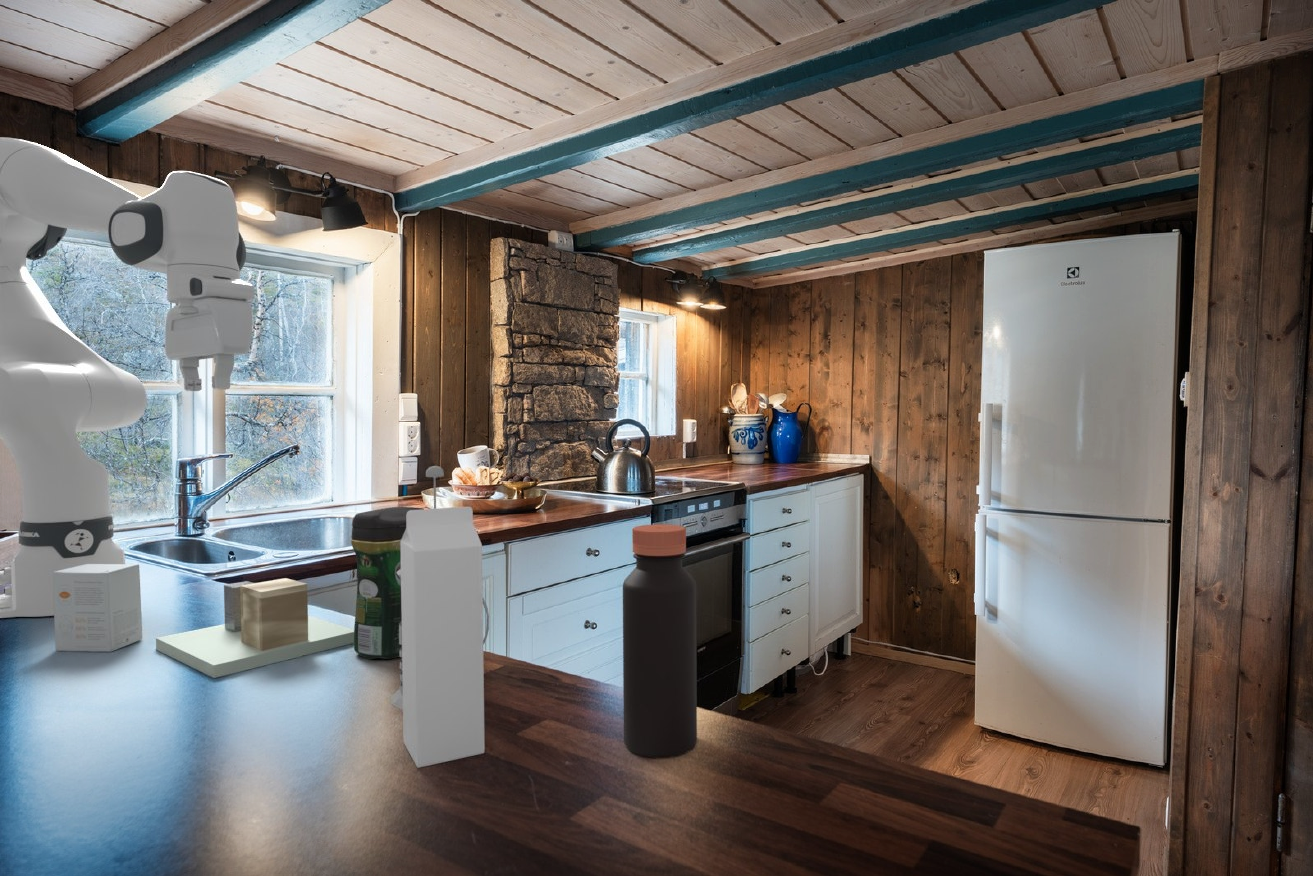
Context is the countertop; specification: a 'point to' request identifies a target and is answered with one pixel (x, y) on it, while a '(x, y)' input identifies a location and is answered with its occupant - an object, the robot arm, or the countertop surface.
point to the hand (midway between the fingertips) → (206, 390)
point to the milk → (442, 636)
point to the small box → (97, 607)
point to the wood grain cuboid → (274, 613)
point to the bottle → (659, 646)
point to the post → (233, 606)
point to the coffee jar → (378, 581)
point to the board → (246, 647)
